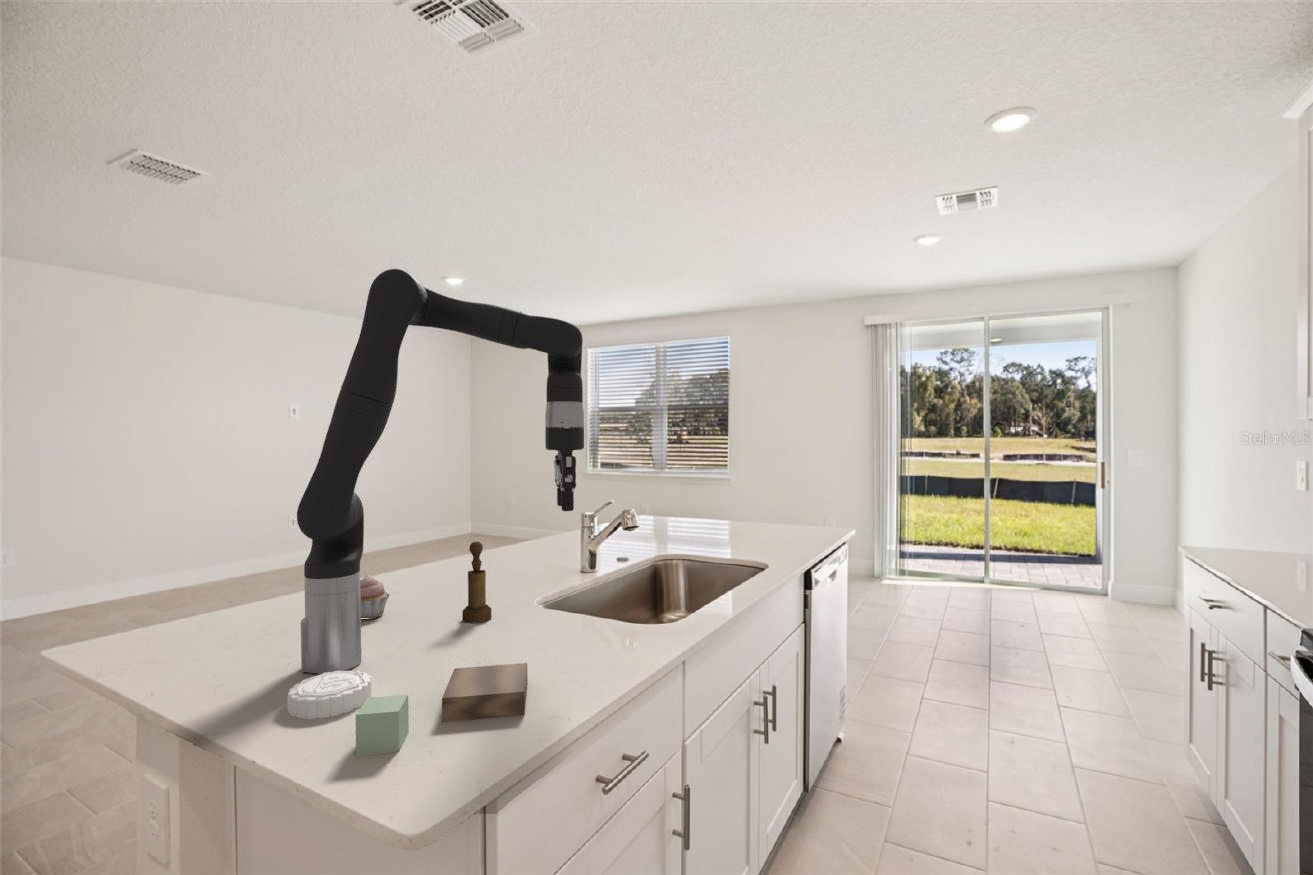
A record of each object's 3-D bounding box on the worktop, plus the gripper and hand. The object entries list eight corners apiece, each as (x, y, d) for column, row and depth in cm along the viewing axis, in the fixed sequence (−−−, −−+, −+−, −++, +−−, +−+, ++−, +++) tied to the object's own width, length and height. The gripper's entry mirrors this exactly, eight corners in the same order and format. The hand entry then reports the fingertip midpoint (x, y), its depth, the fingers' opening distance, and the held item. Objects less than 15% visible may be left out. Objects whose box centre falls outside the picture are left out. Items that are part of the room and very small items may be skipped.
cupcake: (376, 608, 154) (375, 568, 154) (397, 614, 149) (396, 573, 149) (338, 618, 146) (338, 576, 146) (359, 624, 141) (359, 580, 141)
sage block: (356, 756, 83) (355, 714, 83) (368, 736, 88) (367, 697, 88) (399, 751, 84) (398, 711, 84) (408, 732, 89) (408, 694, 89)
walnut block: (442, 725, 92) (441, 698, 92) (454, 692, 104) (454, 668, 104) (524, 717, 94) (524, 691, 94) (527, 686, 106) (527, 663, 106)
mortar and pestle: (497, 617, 145) (496, 541, 145) (476, 625, 140) (474, 545, 139) (478, 613, 149) (477, 538, 149) (456, 620, 143) (455, 542, 143)
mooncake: (365, 714, 96) (365, 691, 96) (277, 725, 92) (277, 701, 92) (377, 684, 107) (376, 664, 107) (299, 694, 104) (298, 672, 104)
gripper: (542, 426, 127) (543, 505, 127) (548, 425, 113) (548, 513, 113) (579, 426, 129) (579, 504, 129) (589, 425, 115) (589, 512, 115)
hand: (565, 508), depth 121 cm, fingers open, 8 cm apart
